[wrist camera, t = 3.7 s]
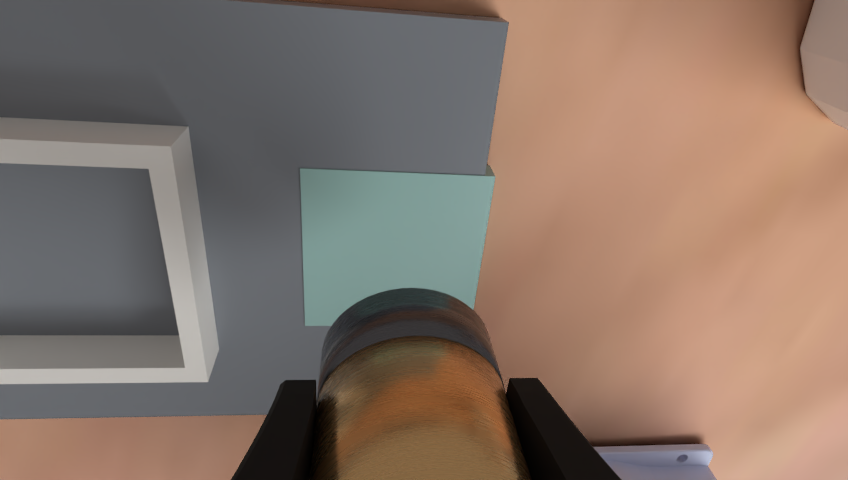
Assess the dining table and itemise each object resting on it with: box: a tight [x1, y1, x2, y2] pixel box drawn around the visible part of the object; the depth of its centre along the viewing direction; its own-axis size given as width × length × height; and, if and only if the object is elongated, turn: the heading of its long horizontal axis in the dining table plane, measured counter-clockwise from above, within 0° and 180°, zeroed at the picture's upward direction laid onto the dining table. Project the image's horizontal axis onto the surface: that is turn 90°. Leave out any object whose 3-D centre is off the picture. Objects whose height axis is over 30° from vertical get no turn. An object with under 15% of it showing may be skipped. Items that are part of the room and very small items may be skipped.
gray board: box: [0, 0, 509, 419], centre depth 16 cm, size 16×14×2 cm
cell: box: [310, 288, 532, 480], centre depth 10 cm, size 4×4×7 cm
